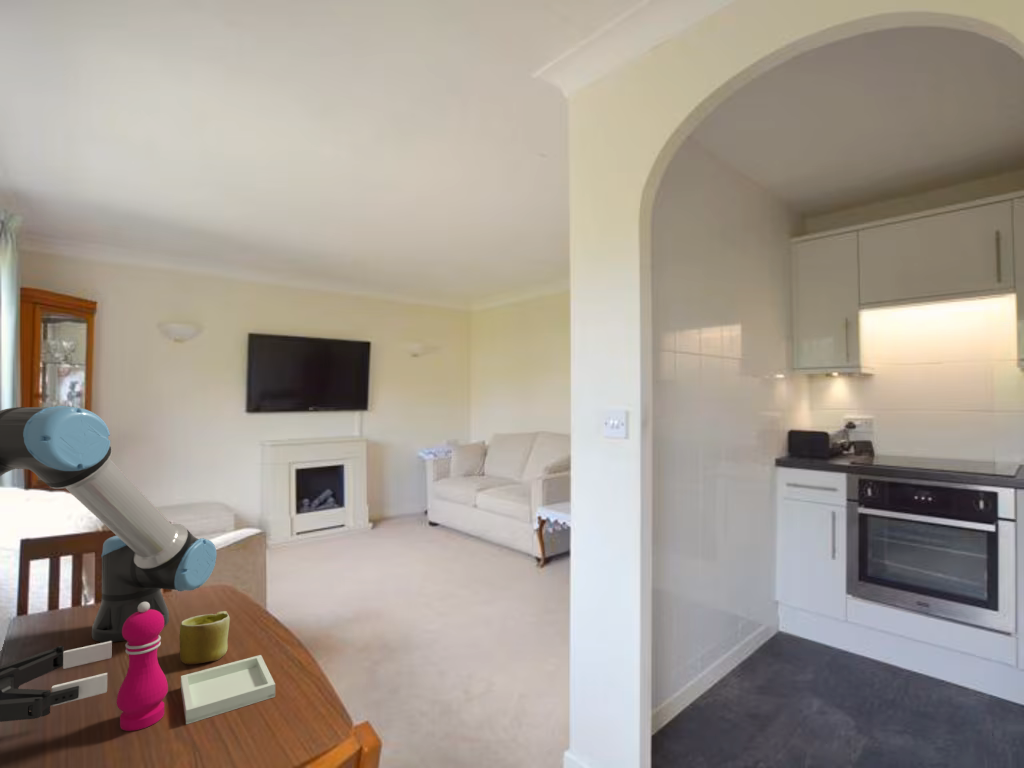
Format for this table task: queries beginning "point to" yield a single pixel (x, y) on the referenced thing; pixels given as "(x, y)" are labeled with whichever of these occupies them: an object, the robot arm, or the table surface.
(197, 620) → the mug
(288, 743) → the table surface
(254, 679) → the tray
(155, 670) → the pepper mill
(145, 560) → the robot arm
